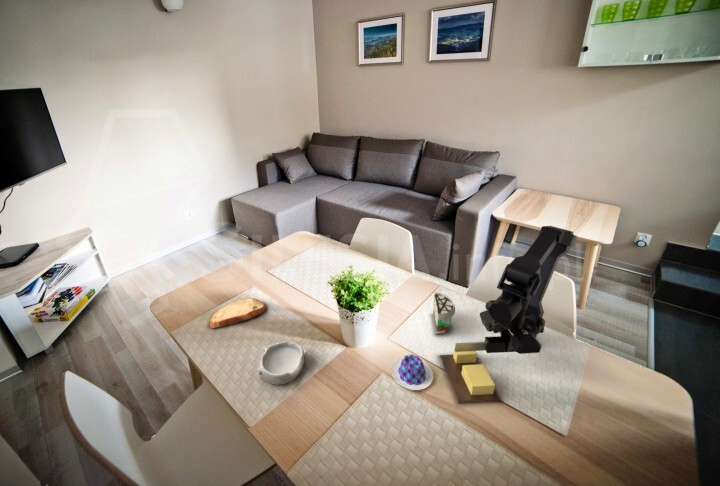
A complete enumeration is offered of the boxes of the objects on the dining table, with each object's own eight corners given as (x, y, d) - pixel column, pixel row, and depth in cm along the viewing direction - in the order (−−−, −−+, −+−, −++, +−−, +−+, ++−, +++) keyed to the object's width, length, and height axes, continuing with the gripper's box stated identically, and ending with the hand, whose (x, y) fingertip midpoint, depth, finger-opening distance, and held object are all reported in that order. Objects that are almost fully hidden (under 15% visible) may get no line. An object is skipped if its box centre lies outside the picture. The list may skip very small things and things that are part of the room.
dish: (310, 355, 108) (309, 344, 106) (294, 392, 96) (292, 380, 94) (271, 346, 112) (269, 336, 110) (251, 380, 101) (248, 369, 99)
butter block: (481, 372, 96) (483, 364, 94) (493, 394, 89) (495, 385, 88) (461, 373, 96) (462, 365, 95) (471, 395, 90) (472, 386, 88)
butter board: (474, 355, 103) (474, 353, 102) (499, 401, 89) (499, 398, 88) (439, 357, 103) (439, 355, 103) (458, 403, 89) (458, 400, 89)
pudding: (383, 366, 101) (384, 354, 99) (415, 352, 105) (416, 340, 103) (408, 398, 91) (408, 385, 89) (441, 381, 95) (443, 368, 93)
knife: (523, 345, 98) (526, 334, 96) (528, 351, 95) (531, 341, 94) (453, 348, 98) (454, 338, 96) (456, 354, 96) (457, 344, 94)
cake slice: (455, 339, 109) (458, 316, 105) (436, 338, 110) (438, 314, 106) (450, 314, 120) (452, 292, 116) (432, 313, 121) (434, 291, 117)
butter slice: (472, 355, 101) (473, 347, 100) (475, 362, 99) (477, 353, 98) (453, 356, 102) (454, 348, 100) (456, 363, 99) (457, 355, 98)
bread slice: (205, 326, 124) (203, 318, 123) (233, 297, 139) (231, 290, 138) (245, 337, 118) (243, 329, 116) (269, 305, 133) (268, 298, 131)
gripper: (471, 285, 98) (465, 325, 105) (503, 330, 82) (493, 374, 88) (508, 283, 98) (500, 323, 105) (548, 328, 81) (535, 372, 88)
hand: (506, 346), depth 96 cm, fingers closed on knife, 2 cm apart
